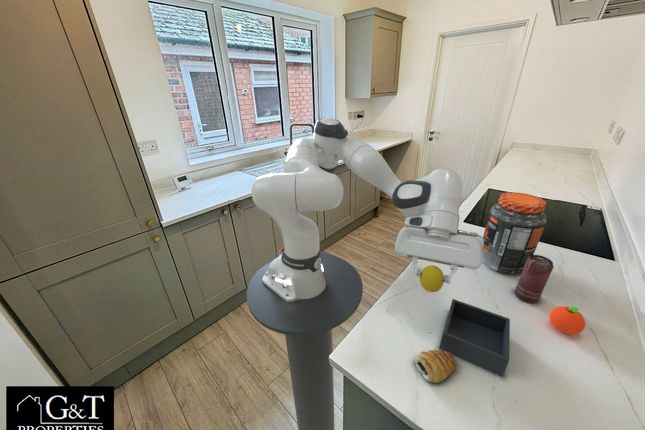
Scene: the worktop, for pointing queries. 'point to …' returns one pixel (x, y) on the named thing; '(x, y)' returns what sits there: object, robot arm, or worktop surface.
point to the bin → (477, 336)
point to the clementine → (567, 319)
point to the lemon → (431, 278)
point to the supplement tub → (513, 232)
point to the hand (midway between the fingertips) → (431, 279)
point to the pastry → (435, 365)
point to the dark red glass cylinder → (533, 278)
